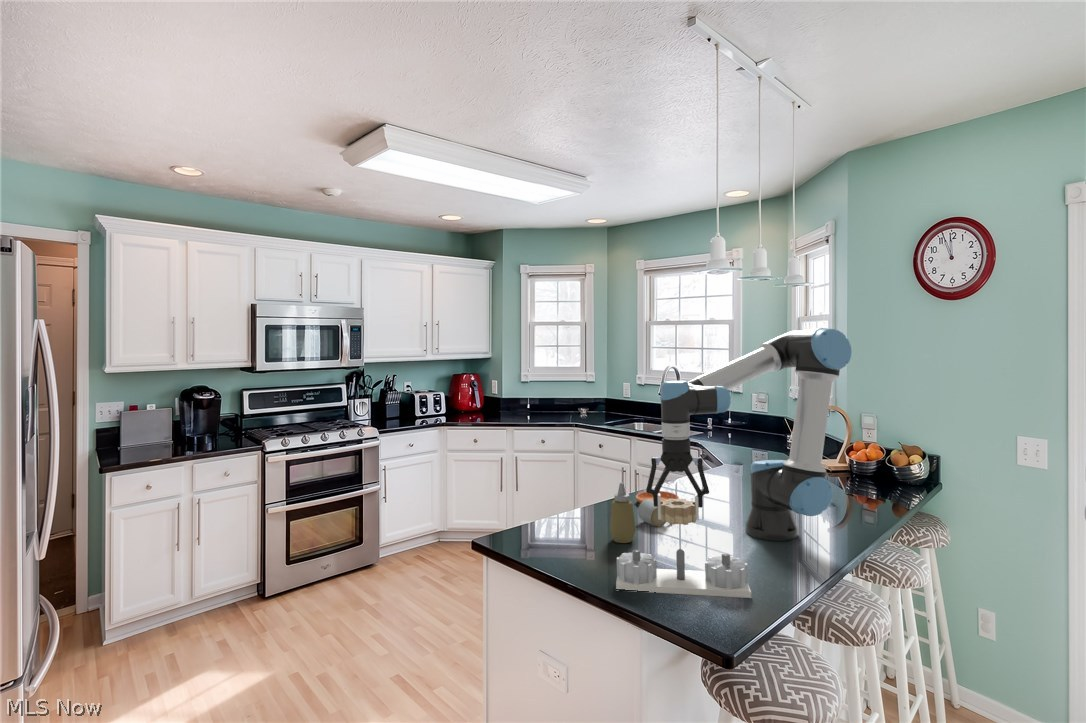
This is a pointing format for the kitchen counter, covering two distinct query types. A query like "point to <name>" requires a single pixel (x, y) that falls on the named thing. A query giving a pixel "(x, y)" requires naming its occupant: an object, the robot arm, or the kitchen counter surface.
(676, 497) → the saucer
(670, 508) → the wooden gear
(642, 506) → the ceramic mug
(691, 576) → the gear board
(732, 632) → the kitchen counter surface
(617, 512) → the squeeze bottle
